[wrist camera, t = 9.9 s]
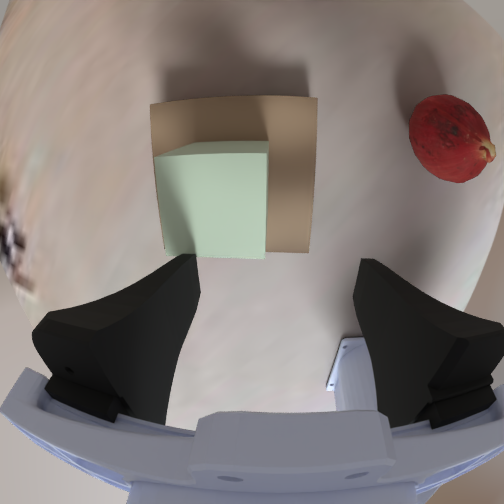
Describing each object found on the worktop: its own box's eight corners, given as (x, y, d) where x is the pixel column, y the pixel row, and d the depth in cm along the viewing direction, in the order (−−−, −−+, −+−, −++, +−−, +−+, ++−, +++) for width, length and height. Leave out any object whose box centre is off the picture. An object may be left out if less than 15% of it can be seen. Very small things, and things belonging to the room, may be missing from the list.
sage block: (267, 211, 17) (265, 259, 11) (198, 210, 17) (166, 255, 12) (268, 141, 15) (266, 153, 9) (194, 142, 15) (154, 157, 10)
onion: (379, 145, 17) (438, 166, 10) (406, 81, 14) (472, 72, 7) (434, 180, 17) (496, 217, 10) (458, 122, 15) (527, 138, 8)
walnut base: (304, 234, 21) (308, 253, 18) (177, 231, 21) (164, 249, 19) (310, 101, 16) (317, 97, 13) (167, 105, 17) (149, 104, 14)
